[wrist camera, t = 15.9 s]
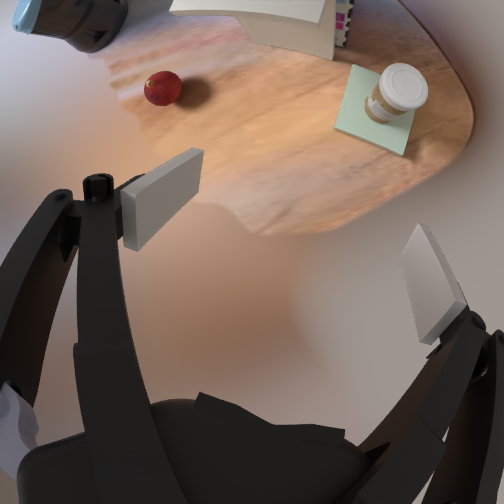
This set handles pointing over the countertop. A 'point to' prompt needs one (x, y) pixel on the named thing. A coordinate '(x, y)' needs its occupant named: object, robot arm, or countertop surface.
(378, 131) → the pedestal
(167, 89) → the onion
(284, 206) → the countertop surface
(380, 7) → the countertop surface
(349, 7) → the candy bar box
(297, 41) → the white t-shaped stand
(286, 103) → the countertop surface
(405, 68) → the sprinkles bottle
